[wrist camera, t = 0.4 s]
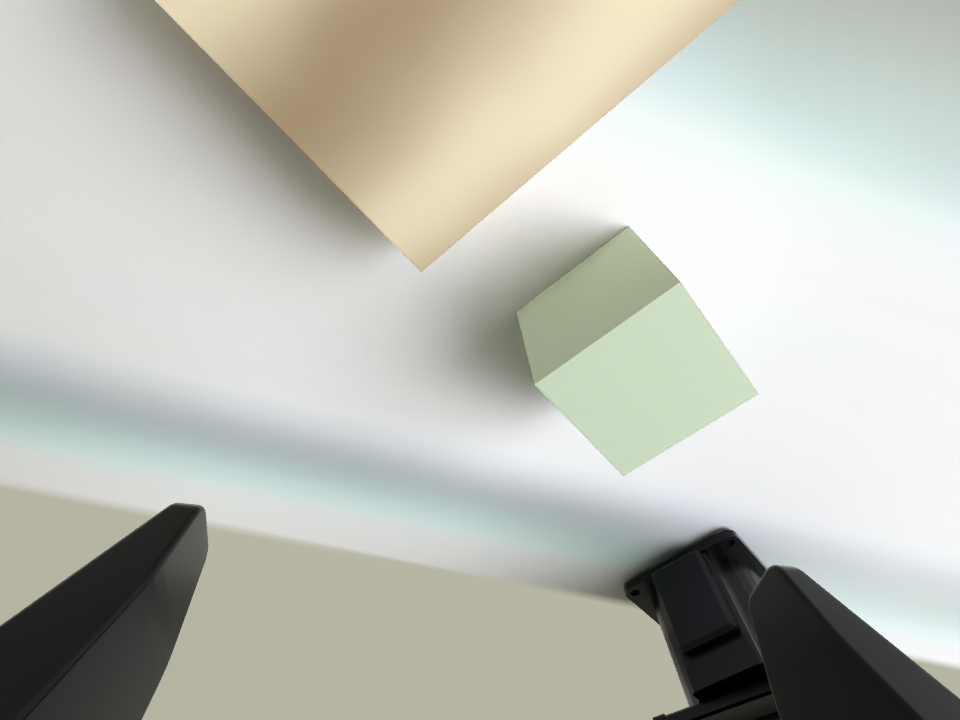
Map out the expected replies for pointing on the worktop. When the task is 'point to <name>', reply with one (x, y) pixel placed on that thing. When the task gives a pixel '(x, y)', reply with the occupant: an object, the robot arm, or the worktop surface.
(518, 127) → the birch block
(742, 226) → the worktop surface
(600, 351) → the sage cube
